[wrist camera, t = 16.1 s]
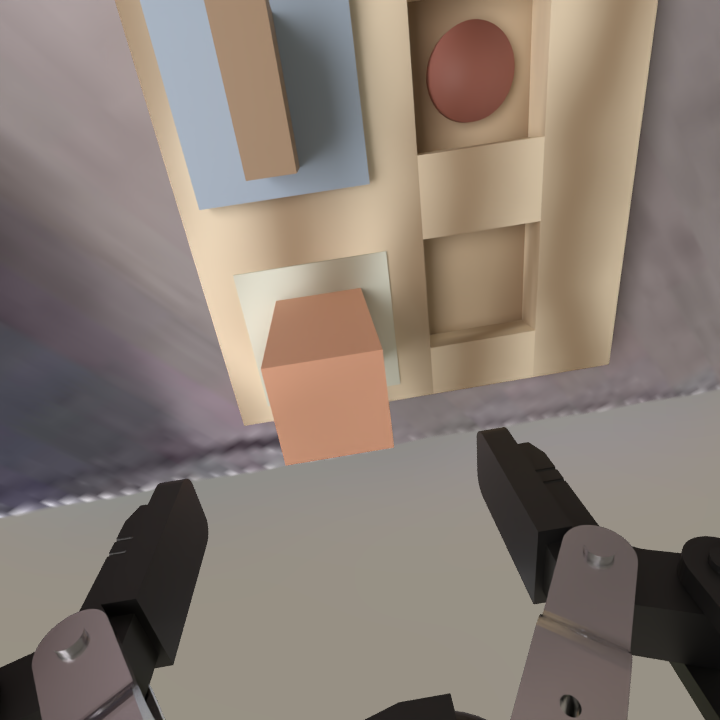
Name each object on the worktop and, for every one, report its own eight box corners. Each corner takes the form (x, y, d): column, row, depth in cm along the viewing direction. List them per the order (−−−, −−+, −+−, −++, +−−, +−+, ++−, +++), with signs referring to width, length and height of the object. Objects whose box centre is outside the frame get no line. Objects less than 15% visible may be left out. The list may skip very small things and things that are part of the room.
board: (635, -84, 17) (675, -112, 15) (588, 349, 26) (609, 365, 24) (126, -14, 17) (103, -34, 15) (249, 405, 25) (244, 426, 23)
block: (360, 287, 21) (382, 349, 14) (370, 363, 22) (393, 447, 16) (276, 300, 20) (260, 369, 14) (292, 375, 22) (286, 465, 16)
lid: (343, -31, 15) (355, -97, 11) (368, 183, 18) (385, 194, 14) (142, -3, 15) (77, -61, 11) (202, 208, 18) (169, 227, 14)
